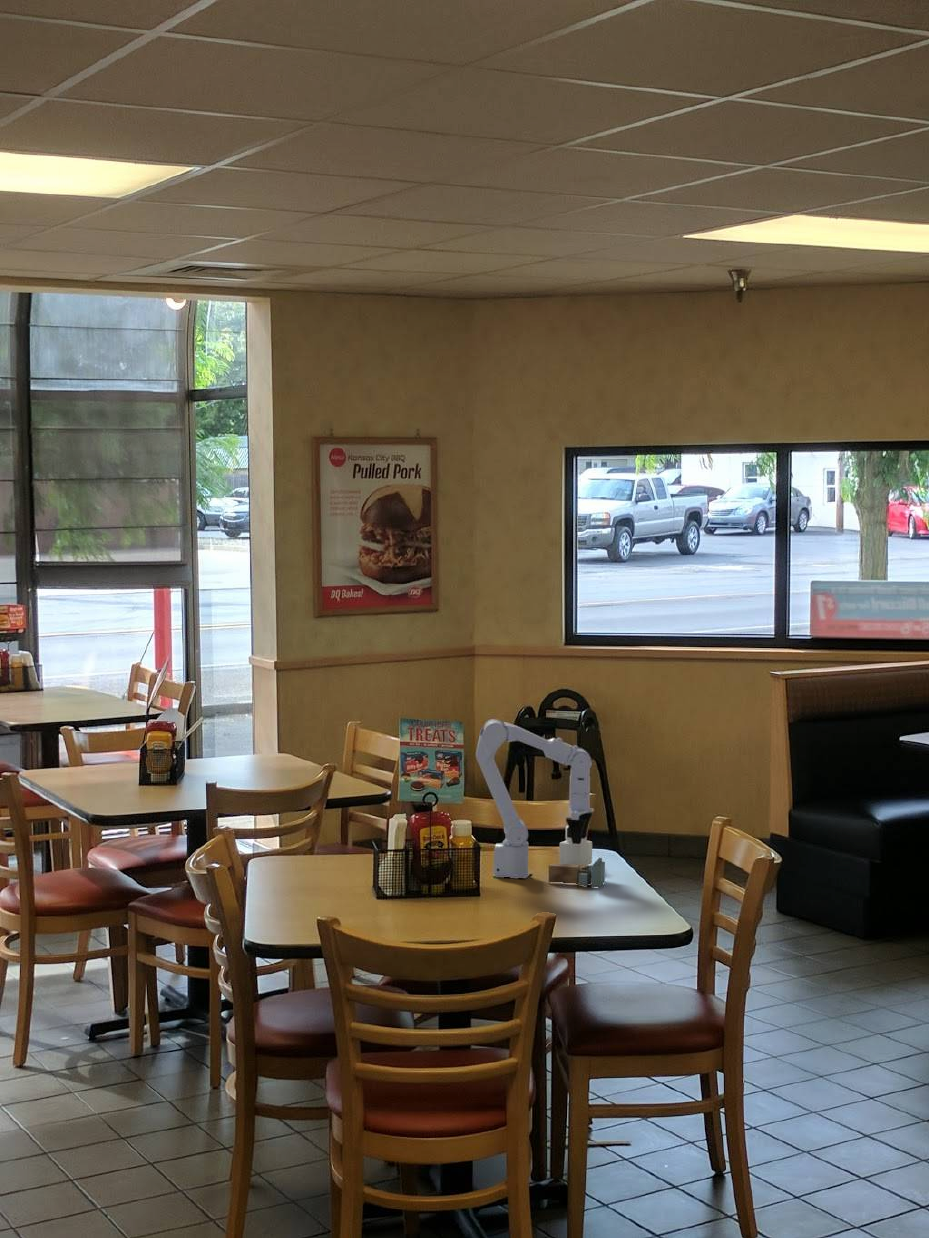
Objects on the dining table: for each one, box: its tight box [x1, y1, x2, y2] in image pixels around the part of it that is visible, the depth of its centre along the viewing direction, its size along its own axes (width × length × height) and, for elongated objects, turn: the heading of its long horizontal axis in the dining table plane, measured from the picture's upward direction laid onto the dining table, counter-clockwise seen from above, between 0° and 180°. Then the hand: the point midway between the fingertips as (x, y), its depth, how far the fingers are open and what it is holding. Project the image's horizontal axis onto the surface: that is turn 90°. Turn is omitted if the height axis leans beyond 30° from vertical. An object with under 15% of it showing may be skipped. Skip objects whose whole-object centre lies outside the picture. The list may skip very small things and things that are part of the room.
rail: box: [548, 862, 592, 885], centre depth 398 cm, size 12×3×5 cm, turn 75°
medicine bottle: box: [558, 825, 593, 867], centre depth 420 cm, size 7×7×12 cm
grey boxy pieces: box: [578, 857, 606, 889], centre depth 396 cm, size 6×7×7 cm
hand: (578, 840), depth 407 cm, fingers open, 7 cm apart
